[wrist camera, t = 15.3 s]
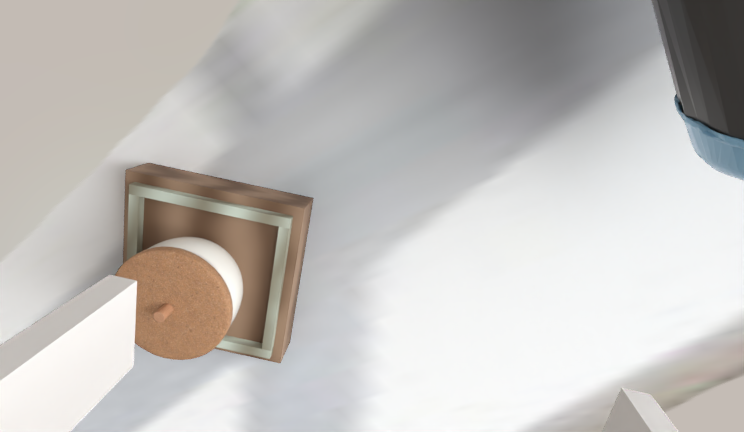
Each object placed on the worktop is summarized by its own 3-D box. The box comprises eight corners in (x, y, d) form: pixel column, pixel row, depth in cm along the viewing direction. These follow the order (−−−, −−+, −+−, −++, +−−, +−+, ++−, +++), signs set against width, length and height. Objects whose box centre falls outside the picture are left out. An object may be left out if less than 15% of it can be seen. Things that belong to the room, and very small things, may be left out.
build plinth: (313, 198, 47) (302, 211, 42) (289, 342, 53) (277, 368, 48) (148, 162, 47) (119, 172, 43) (142, 309, 53) (115, 332, 48)
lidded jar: (198, 333, 48) (151, 390, 40) (137, 253, 46) (71, 294, 37) (278, 289, 46) (246, 340, 37) (217, 203, 44) (167, 234, 35)
